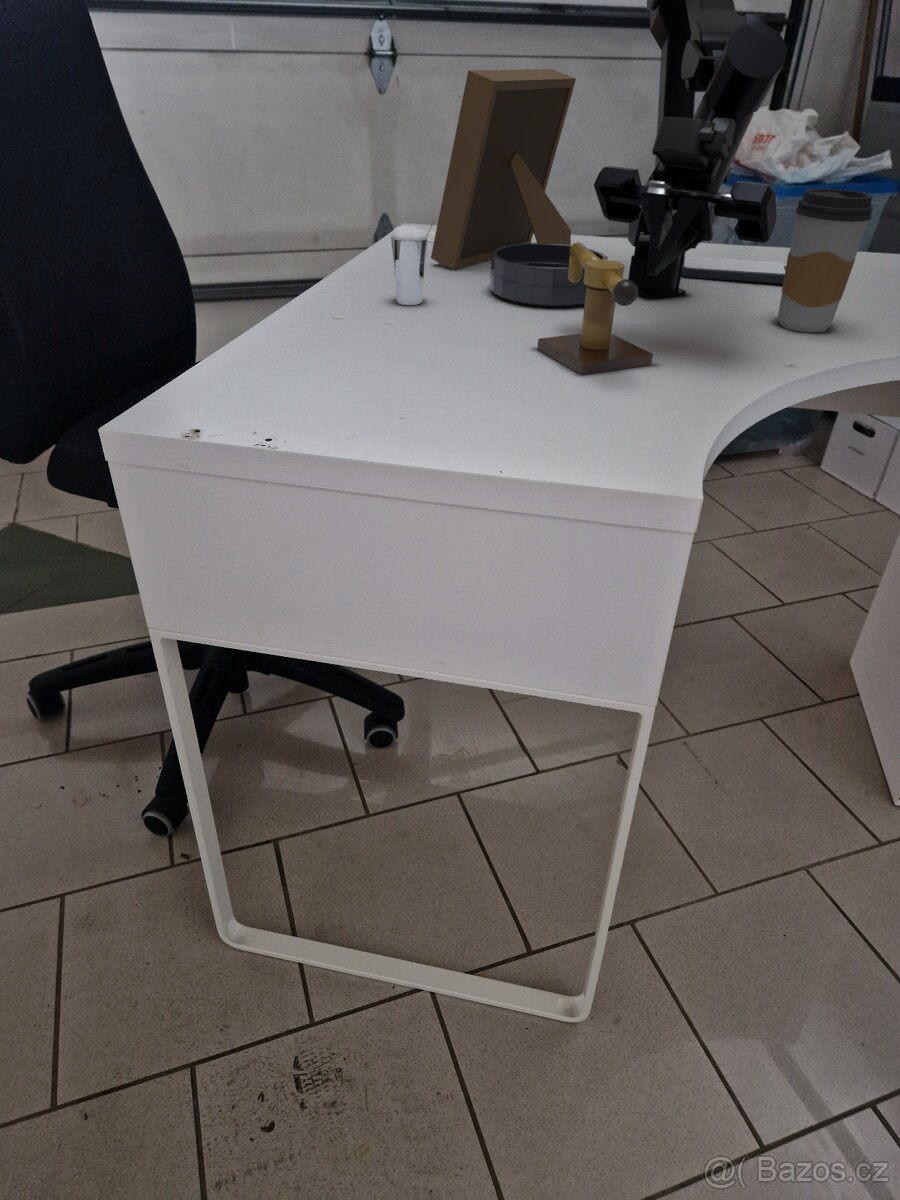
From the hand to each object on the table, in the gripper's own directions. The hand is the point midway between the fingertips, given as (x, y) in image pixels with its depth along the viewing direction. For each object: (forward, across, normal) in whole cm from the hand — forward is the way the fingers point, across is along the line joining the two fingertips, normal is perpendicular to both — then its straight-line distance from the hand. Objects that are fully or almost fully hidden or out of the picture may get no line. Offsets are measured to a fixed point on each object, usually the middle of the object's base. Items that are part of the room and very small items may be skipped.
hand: (650, 272), depth 86 cm
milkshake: (+5, -32, +8) cm, 34 cm away
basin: (-6, -21, +18) cm, 29 cm away
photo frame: (-15, -35, +28) cm, 48 cm away
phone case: (-26, -5, +39) cm, 47 cm away
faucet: (+4, -5, +1) cm, 6 cm away
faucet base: (+8, -4, +4) cm, 10 cm away
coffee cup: (-11, +11, +24) cm, 29 cm away
